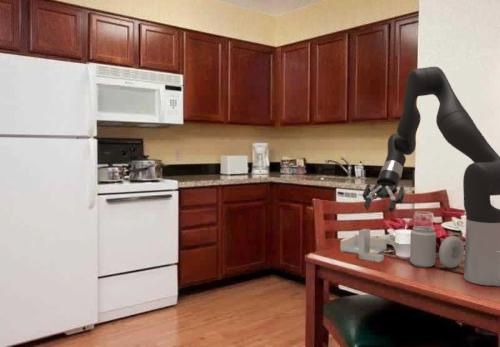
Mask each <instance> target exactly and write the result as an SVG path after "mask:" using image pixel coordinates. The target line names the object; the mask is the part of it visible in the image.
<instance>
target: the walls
mask: <svg viewBox="0 0 500 347" xmlns="http://www.w3.org/2000/svg"><path fill="white" fill-rule="evenodd" d="M387 241H388V238H384V237H377V236H376V237H375V236H370V247H375V248H382V249H385V251H386V250H387V246H388V245H387V244H388V243H387ZM339 245H340V247H339V248H340V252H341V253H342V252H343V253H345V252H344V250H346V249H348V248H350V247H352V246H354V245H359V234H353V235H351V236H350V235H349V236H347V237H345V238H343V239H340V244H339Z"/></svg>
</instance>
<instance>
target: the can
mask: <svg viewBox="0 0 500 347" xmlns="http://www.w3.org/2000/svg"><path fill="white" fill-rule="evenodd" d="M409 242H410V248H409V249H410V251H409V262H410V263H411V264H412V265H413V266H414V267H418V268H432V267H433V266H435V265H436V256H437V255H436V253H437V252H436V250H437V249H436V248H437V233H436V232H435V229H434V227H430V226H424V225H423V226H422V225H419V226H417V225H416V226H413V227H412V230H410V241H409Z"/></svg>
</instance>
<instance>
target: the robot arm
mask: <svg viewBox="0 0 500 347" xmlns="http://www.w3.org/2000/svg"><path fill="white" fill-rule="evenodd" d="M406 79H407V80H406V85H405V89H404V95H403V97H404V98H403V105H402V112H401V114H400V115H401V116H400V119H399V122H398V125H397V128H396V133H393V134H391V135H390V136H389V138H388V140H387V155H386V159H385V160H384V163H383V165H382V167H381V170H380V172H379V175H378V178H377V180H376V184H375V185H370V183H367V185H366V186H365V189H364V191H363V192H362V195H361V196H362V198H363V200H364V201H365V202H364V203H363V205H364V208H365V210H367V211H368V210H369V209H370V207H371V204H372V201H374V200H377V199H378V198H381V199H382V198H384V199H388V198H389V199H390V202H389V204H388V208H387V210H388V212H389V213H392V212H393V211H395V208H396V205H397V204H398V203H399V204H402V203H403V202H404V197H405V193H406V191H405V187H404V186H400V187H399V183H400V181H401V178H402V175H403V174H402V173H403V169H404V166H405V163H406V161H407V158H406V156H410V155H412V154H413V153H414V152H415V150H416V144H417V142H416V141H417V139H416V136H417V131H418V129H419V127H420V124H421V114H420V111H419V108H418V107H417V104H416V102H417V99H418V97H424V96H431V95H433V96H435V97H436V99H437V100H438V102H439V105H438V109H437V114H436V120H435V124H436V126H437V129H438V130H439V132H440V133H441V135H442V137H443V138H444V140H445V141H446V142H447V143H448V144H449V145H450V146H451V147H452V148H455V149H456V150H458V151H459V152H460V153H462V154H463V155H465V156H466V157H468V158H469V159H470V160H471V161H472V163H471V164H469V165H468V166H466V168H465V170H464V173H463V178H462V179H463V180H462V181H463V186H462V188H463V189H462V190H463V208H464V211H465V240H464V243H465V245H464V246H465V247H464V267H463V268H464V270H463V273H464V275H463V279H464V280H465V281H466V282H469V283H472V284H477V285H481V286H490V287H491V286H494V287H500V208H497V207H494V205H493V204H492V202H491V196H492V197H493V196H500V155H499V154H498V153H497V152H496V151H495V150H494V149H493V147H492V146H491V145H490V144H489V142H488V141H487V139H486V138H485V136H484V135H483V134H482V133H481V130H480V129H479V128H478V127H477V125H476V123H475V121H474V120H473V119H472V117H471V116H470V114H469V112H468V111H467V110H466V109H465V107H464V106H463V104H462V103H461V102H460V100H459V98H458V96H457V95H456V93H455V91H454V89H453V88H452V86H451V83H450V82H449V79H448V78H447V76H446V74H445V72H444V71H443V69H441V68H440V67H439V66H428V67H427V66H426V67H418V68H415V69H412V70H411V71H410V72H409V73H408V76H407V78H406ZM396 193H398V195H397V197H395V194H396Z"/></svg>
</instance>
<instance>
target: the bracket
mask: <svg viewBox="0 0 500 347" xmlns="http://www.w3.org/2000/svg"><path fill="white" fill-rule="evenodd" d="M358 235H359V254H358V260H364V261H369V262H374V261H375V263H380V262H382V261H383V260H385V254H381V253H379V254H375V253H370V237H371V229H370V228H363V229H360V230H359V231H358Z"/></svg>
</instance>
